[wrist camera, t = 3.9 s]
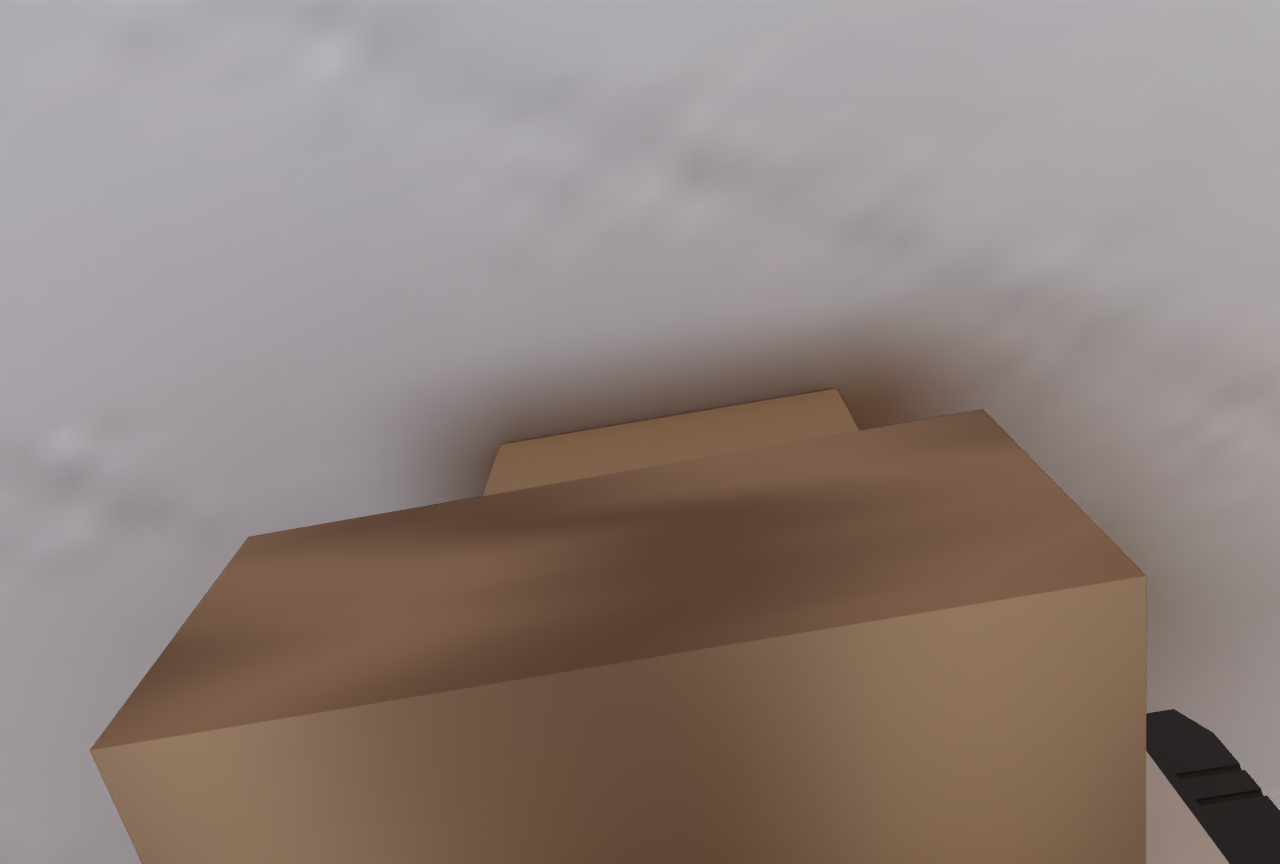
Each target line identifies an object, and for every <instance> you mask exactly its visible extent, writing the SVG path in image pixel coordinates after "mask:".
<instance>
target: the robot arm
mask: <svg viewBox="0 0 1280 864" xmlns="http://www.w3.org/2000/svg"><path fill="white" fill-rule="evenodd" d="M1146 864H1280V811H1279V809H1278V808H1277V807H1276V806H1275V805H1274V804H1273V802H1272V801H1271V800H1270V799H1269V798H1268V796H1263V794H1262V791H1261V788H1260V787H1259V786H1258V785H1257V784H1256V782H1255V781H1254V780H1253V779H1252V778H1251V777H1250V775H1249V774H1248V773H1247V772H1246V771H1245V770H1241V768H1240V764H1239V763H1238V761H1237V760H1236V759H1235V758H1234V757H1233V755H1232V754H1231V753H1230V752H1229V751H1228V750H1227V748H1226V747H1225V746H1224V745H1223V744H1222V743H1221V741H1220V740H1219V739H1218V738H1217V737H1216V736H1215V734H1214V733H1212V732H1211V731H1209V730H1207V729H1206V728H1204V727H1202V726H1201V725H1199V724H1198V723H1196V722H1194V721H1193V720H1191V719H1189V718H1188V717H1186V716H1184V715H1183V714H1181V713H1179V712H1178V711H1176V710H1174V709H1172V710H1166V711H1159V712H1153V713H1147V714H1146Z"/></svg>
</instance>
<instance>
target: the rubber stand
mask: <svg viewBox="0 0 1280 864" xmlns="http://www.w3.org/2000/svg"><path fill="white" fill-rule="evenodd" d="M854 431H859V429H858V427H857V425H856V424H855V422H854V420H853V418H852V416H851V414H850V412H849V410H848V409H847V407H846V405H845V403H844V401H843V399H842V397H841V396H840V394H839V392H838V390H837V388H836V389H830V390H824V391H818V392H812V393H806V394H800V395H794V396H788V397H782V398H776V399H770V400H764V401H758V402H752V403H746V404H740V405H734V406H728V407H722V408H716V409H710V410H704V411H698V412H692V413H686V414H680V415H674V416H668V417H662V418H656V419H650V420H644V421H638V422H632V423H626V424H620V425H615V426H609V427H603V428H597V429H591V430H585V431H579V432H573V433H567V434H561V435H555V436H549V437H543V438H537V439H531V440H525V441H519V442H513V443H507V444H501V445H500V447H499V450H498V453H497V456H496V458H495V461H494V464H493V467H492V470H491V473H490V476H489V478H488V481H487V484H486V487H485V490H484V493H483V495H482V496H486V495H492V494H498V493H503V492H509V491H515V490H521V489H526V488H532V487H538V486H544V485H549V484H555V483H561V482H567V481H572V480H578V479H584V478H590V477H595V476H601V475H607V474H613V473H618V472H624V471H630V470H636V469H641V468H647V467H653V466H659V465H664V464H670V463H676V462H681V461H687V460H693V459H699V458H704V457H710V456H716V455H722V454H727V453H733V452H739V451H745V450H750V449H756V448H762V447H768V446H773V445H779V444H785V443H791V442H796V441H802V440H808V439H814V438H819V437H825V436H831V435H837V434H842V433H848V432H854Z"/></svg>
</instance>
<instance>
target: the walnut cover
mask: <svg viewBox="0 0 1280 864" xmlns="http://www.w3.org/2000/svg"><path fill="white" fill-rule="evenodd" d="M90 752H91V754H92V757H93V759H94V761H95V763H96V765H97V767H98V770H99V772H100V774H101V776H102V778H103V780H104V782H105V785H106V787H107V789H108V791H109V793H110V795H111V798H112V800H113V802H114V804H115V806H116V808H117V810H118V813H119V815H120V817H121V819H122V821H123V823H124V826H125V828H126V830H127V832H128V834H129V836H130V838H131V841H132V843H133V845H134V847H135V849H136V851H137V854H138V856H139V858H140V860H141V862H142V864H1146V575H1145V574H1144V573H1143V572H1142V571H1141V570H1140V569H1139V568H1138V567H1137V566H1136V565H1135V564H1134V563H1133V562H1132V561H1131V560H1130V559H1129V558H1128V557H1127V556H1126V555H1125V554H1124V553H1123V552H1122V551H1121V550H1120V549H1119V548H1118V547H1117V546H1116V544H1115V543H1114V542H1113V541H1112V540H1111V539H1110V538H1109V537H1108V536H1107V535H1106V534H1105V533H1104V532H1103V531H1102V530H1101V529H1100V528H1099V527H1098V526H1097V525H1096V524H1095V523H1094V522H1093V521H1092V520H1091V519H1090V518H1089V517H1088V516H1087V515H1086V514H1085V513H1084V512H1083V511H1082V510H1081V509H1080V508H1079V507H1078V506H1077V505H1076V504H1075V503H1074V502H1073V501H1072V500H1071V499H1070V498H1069V497H1068V496H1067V495H1066V493H1065V492H1064V491H1063V490H1062V489H1061V488H1060V487H1059V486H1058V485H1057V484H1056V483H1055V482H1054V481H1053V480H1052V479H1051V478H1050V477H1049V476H1048V475H1047V474H1046V473H1045V472H1044V471H1043V470H1042V469H1041V468H1040V467H1039V466H1038V465H1037V464H1036V463H1035V462H1034V461H1033V460H1032V459H1031V458H1030V457H1029V456H1028V455H1027V454H1026V453H1025V452H1024V451H1023V450H1022V449H1021V448H1020V447H1019V446H1018V445H1017V444H1016V443H1015V441H1014V440H1013V439H1012V438H1011V437H1010V436H1009V435H1008V434H1007V433H1006V432H1005V431H1004V430H1003V429H1002V428H1001V427H1000V426H999V425H998V424H997V423H996V422H995V421H994V420H993V419H992V418H991V417H990V416H989V415H988V414H987V413H986V412H985V411H984V410H983V409H980V410H974V411H969V412H963V413H957V414H951V415H946V416H940V417H934V418H928V419H923V420H917V421H911V422H905V423H900V424H894V425H888V426H882V427H877V428H871V429H865V430H860V431H854V432H848V433H842V434H837V435H831V436H825V437H819V438H814V439H808V440H802V441H796V442H791V443H785V444H779V445H773V446H768V447H762V448H756V449H750V450H745V451H739V452H733V453H727V454H722V455H716V456H710V457H704V458H699V459H693V460H687V461H681V462H676V463H670V464H664V465H659V466H653V467H647V468H641V469H636V470H630V471H624V472H618V473H613V474H607V475H601V476H595V477H590V478H584V479H578V480H572V481H567V482H561V483H555V484H549V485H544V486H538V487H532V488H526V489H521V490H515V491H509V492H503V493H498V494H492V495H486V496H481V497H475V498H469V499H463V500H458V501H452V502H446V503H440V504H435V505H429V506H423V507H417V508H412V509H406V510H400V511H394V512H389V513H383V514H377V515H371V516H366V517H360V518H354V519H348V520H343V521H337V522H331V523H325V524H320V525H314V526H308V527H302V528H297V529H291V530H285V531H280V532H274V533H268V534H262V535H257V536H251V537H248V538H247V539H246V541H245V542H244V543H243V545H242V546H241V547H240V549H239V550H238V552H237V553H236V554H235V556H234V557H233V558H232V560H231V561H230V562H229V564H228V565H227V566H226V568H225V569H224V570H223V572H222V573H221V574H220V576H219V577H218V578H217V580H216V581H215V582H214V584H213V585H212V587H211V588H210V589H209V591H208V592H207V593H206V595H205V596H204V597H203V599H202V600H201V601H200V603H199V604H198V605H197V607H196V608H195V609H194V611H193V612H192V613H191V615H190V616H189V617H188V619H187V620H186V622H185V623H184V624H183V626H182V627H181V628H180V630H179V631H178V632H177V634H176V635H175V636H174V638H173V639H172V640H171V642H170V643H169V644H168V646H167V647H166V648H165V650H164V651H163V652H162V654H161V655H160V657H159V658H158V659H157V661H156V662H155V663H154V665H153V666H152V667H151V669H150V670H149V671H148V673H147V674H146V675H145V677H144V678H143V679H142V681H141V682H140V683H139V685H138V686H137V687H136V689H135V690H134V692H133V693H132V694H131V696H130V697H129V698H128V700H127V701H126V702H125V704H124V705H123V706H122V708H121V709H120V710H119V712H118V713H117V714H116V716H115V717H114V718H113V720H112V721H111V722H110V724H109V725H108V727H107V728H106V729H105V731H104V732H103V733H102V735H101V736H100V737H99V739H98V740H97V741H96V743H95V744H94V745H93V747H92V748H91V749H90Z"/></svg>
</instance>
